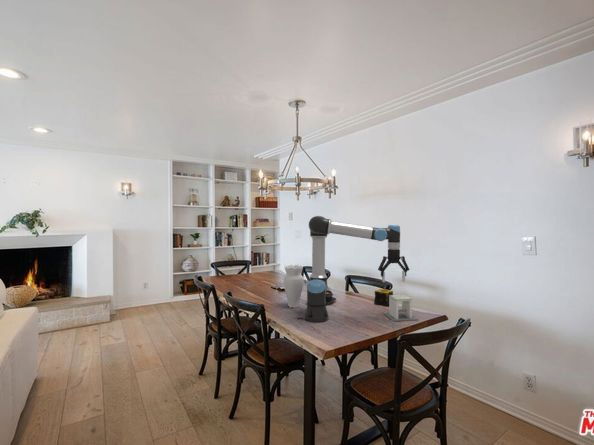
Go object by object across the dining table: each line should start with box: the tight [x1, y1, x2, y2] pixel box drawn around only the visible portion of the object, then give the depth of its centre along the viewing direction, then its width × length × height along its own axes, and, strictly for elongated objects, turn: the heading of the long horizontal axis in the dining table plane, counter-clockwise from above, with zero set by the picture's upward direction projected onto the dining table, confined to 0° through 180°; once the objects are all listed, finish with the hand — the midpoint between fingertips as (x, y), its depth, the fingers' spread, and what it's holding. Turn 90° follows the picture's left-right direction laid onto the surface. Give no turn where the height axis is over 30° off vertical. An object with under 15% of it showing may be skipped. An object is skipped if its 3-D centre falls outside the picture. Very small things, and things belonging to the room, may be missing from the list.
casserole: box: [326, 289, 337, 305], centre depth 224 cm, size 25×19×8 cm
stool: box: [388, 294, 413, 319], centre depth 189 cm, size 10×12×10 cm
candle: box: [373, 288, 394, 307], centre depth 219 cm, size 10×10×10 cm
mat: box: [382, 311, 419, 323], centre depth 190 cm, size 16×16×1 cm
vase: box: [283, 264, 305, 309], centre depth 215 cm, size 15×15×29 cm
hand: (393, 281), depth 193 cm, fingers open, 13 cm apart
